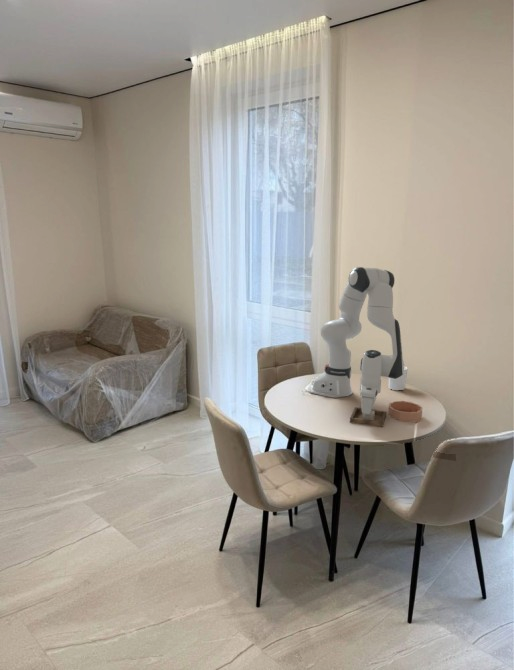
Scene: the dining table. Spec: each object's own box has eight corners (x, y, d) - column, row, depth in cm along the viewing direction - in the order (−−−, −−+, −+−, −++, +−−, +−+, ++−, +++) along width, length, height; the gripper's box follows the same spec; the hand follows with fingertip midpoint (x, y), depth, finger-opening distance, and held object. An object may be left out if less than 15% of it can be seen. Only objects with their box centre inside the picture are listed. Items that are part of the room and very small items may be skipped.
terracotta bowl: (386, 420, 219) (387, 410, 218) (389, 409, 233) (390, 399, 232) (420, 425, 215) (421, 414, 213) (422, 413, 228) (422, 403, 227)
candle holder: (408, 387, 264) (410, 366, 262) (402, 392, 256) (404, 370, 253) (390, 384, 269) (391, 363, 267) (384, 389, 261) (386, 367, 259)
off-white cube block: (361, 419, 218) (362, 412, 217) (363, 416, 221) (363, 409, 220) (373, 421, 216) (373, 413, 215) (374, 418, 219) (374, 410, 219)
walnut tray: (349, 424, 215) (350, 418, 214) (354, 413, 227) (355, 407, 227) (382, 429, 210) (382, 422, 209) (385, 417, 223) (386, 411, 222)
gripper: (366, 379, 226) (364, 407, 229) (359, 393, 207) (357, 424, 210) (380, 381, 224) (378, 409, 227) (374, 395, 205) (372, 426, 208)
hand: (368, 416), depth 218 cm, fingers closed on off-white cube block, 4 cm apart
